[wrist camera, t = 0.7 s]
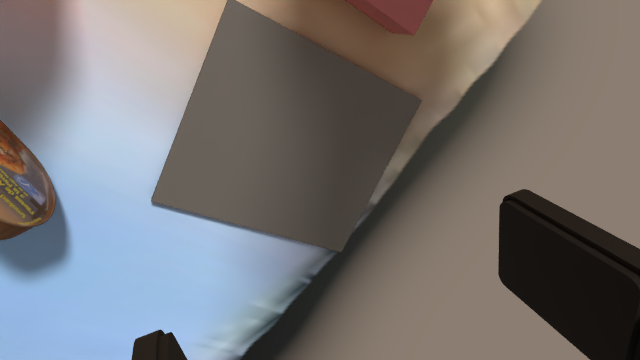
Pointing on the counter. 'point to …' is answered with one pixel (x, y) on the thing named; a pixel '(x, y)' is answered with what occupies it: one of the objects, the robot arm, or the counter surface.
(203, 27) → the counter surface
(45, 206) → the tin
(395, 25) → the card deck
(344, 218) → the mat
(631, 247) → the robot arm
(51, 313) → the counter surface
